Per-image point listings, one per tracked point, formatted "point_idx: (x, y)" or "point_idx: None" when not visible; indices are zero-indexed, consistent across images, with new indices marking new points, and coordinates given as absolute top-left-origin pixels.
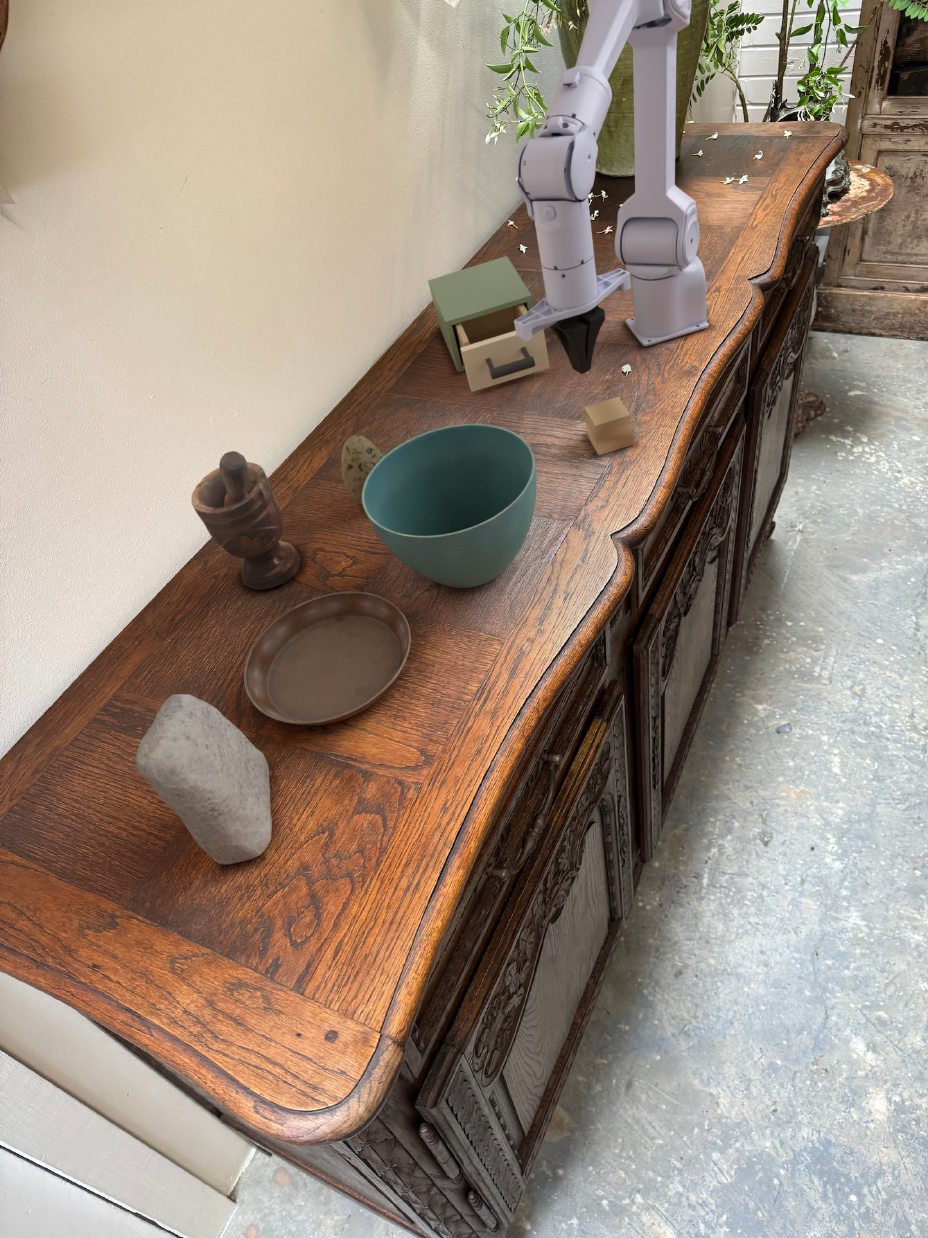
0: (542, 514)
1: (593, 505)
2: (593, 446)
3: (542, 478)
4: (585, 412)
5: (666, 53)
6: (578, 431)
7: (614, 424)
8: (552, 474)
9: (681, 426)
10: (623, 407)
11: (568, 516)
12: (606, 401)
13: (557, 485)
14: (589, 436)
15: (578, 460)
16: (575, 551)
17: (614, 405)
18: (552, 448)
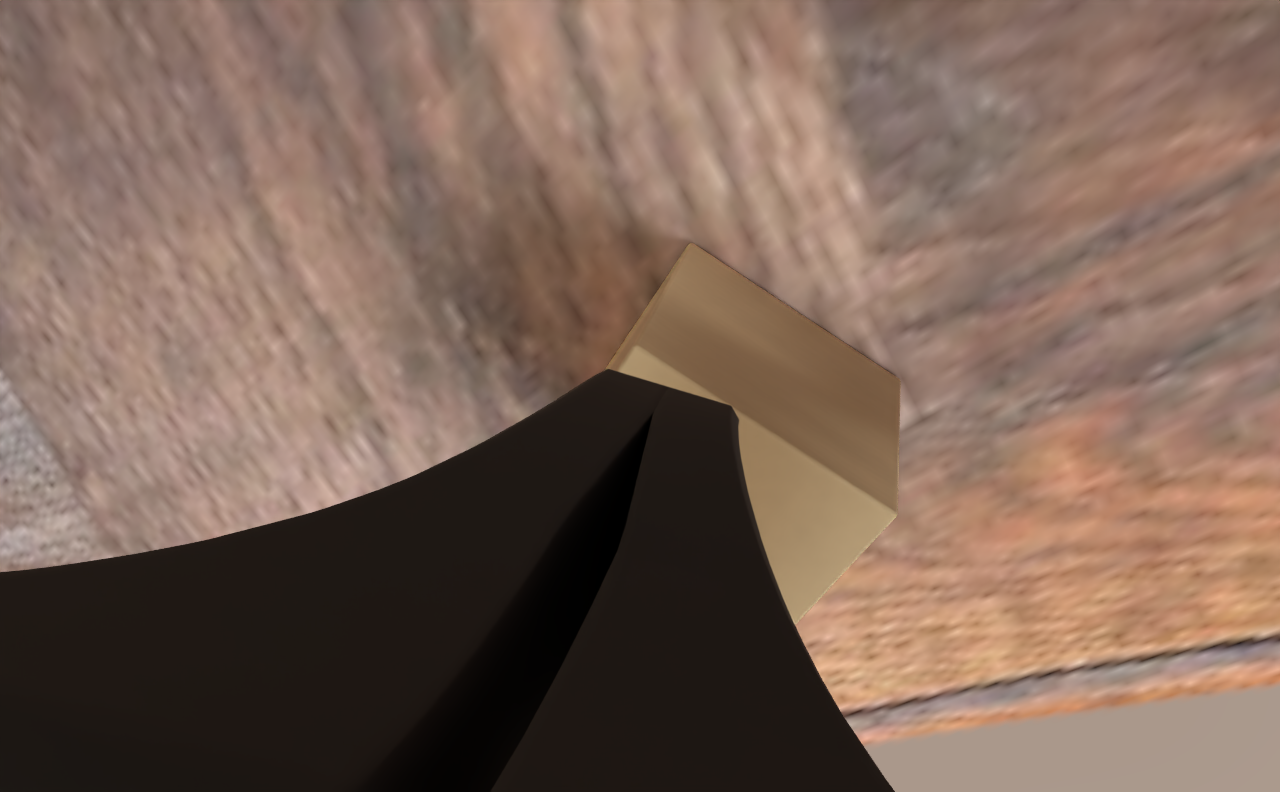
0: (56, 431)
1: None
2: (620, 346)
3: (219, 245)
4: (623, 357)
5: None
6: (710, 134)
7: None
8: (281, 276)
9: (1060, 692)
10: None
11: (140, 545)
12: (792, 468)
13: (240, 364)
14: (654, 297)
15: (469, 336)
16: None
17: (775, 548)
18: (456, 93)
